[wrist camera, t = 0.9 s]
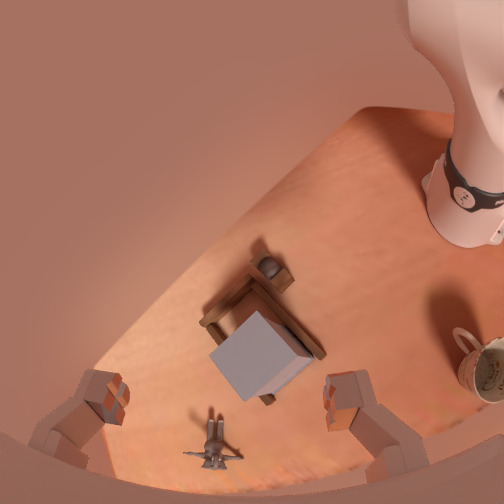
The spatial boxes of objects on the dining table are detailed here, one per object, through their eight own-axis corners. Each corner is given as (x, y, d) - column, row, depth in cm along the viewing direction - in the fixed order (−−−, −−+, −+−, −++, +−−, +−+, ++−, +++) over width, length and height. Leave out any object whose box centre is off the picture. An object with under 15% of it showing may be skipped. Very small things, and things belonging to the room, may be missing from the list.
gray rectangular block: (283, 325, 45) (256, 310, 35) (314, 358, 41) (297, 355, 31) (246, 360, 45) (208, 355, 34) (274, 393, 41) (243, 401, 31)
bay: (271, 258, 51) (263, 248, 47) (348, 333, 41) (347, 330, 37) (205, 322, 51) (192, 317, 47) (270, 404, 41) (261, 407, 37)
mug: (469, 408, 29) (494, 416, 20) (425, 354, 35) (442, 350, 27) (502, 367, 28) (533, 365, 20) (460, 315, 35) (483, 300, 26)
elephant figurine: (250, 420, 41) (249, 471, 35) (239, 426, 45) (237, 471, 39) (188, 412, 39) (184, 466, 32) (183, 419, 43) (179, 466, 36)
